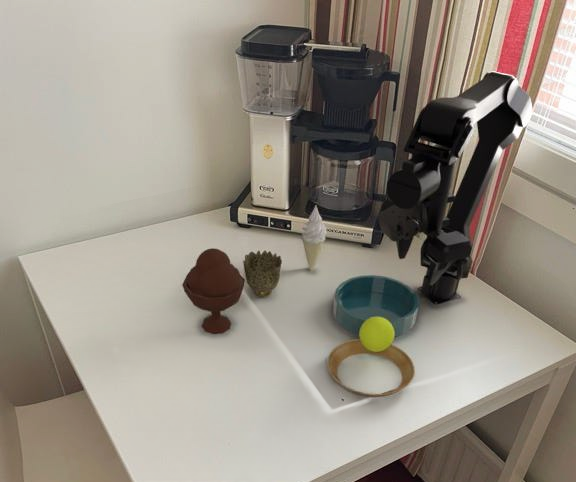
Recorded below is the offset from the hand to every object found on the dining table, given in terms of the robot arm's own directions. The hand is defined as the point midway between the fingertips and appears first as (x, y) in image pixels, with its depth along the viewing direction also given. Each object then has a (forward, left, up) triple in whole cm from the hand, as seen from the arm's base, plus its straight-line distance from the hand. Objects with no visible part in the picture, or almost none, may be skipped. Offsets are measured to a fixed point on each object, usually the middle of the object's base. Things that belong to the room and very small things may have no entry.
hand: (416, 270), depth 108 cm
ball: (+13, +9, -6) cm, 17 cm away
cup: (+21, -20, -12) cm, 31 cm away
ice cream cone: (+8, -24, -12) cm, 28 cm away
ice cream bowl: (+33, -14, -12) cm, 38 cm away
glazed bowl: (+4, -5, -12) cm, 14 cm away
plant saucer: (+14, +10, -12) cm, 21 cm away
